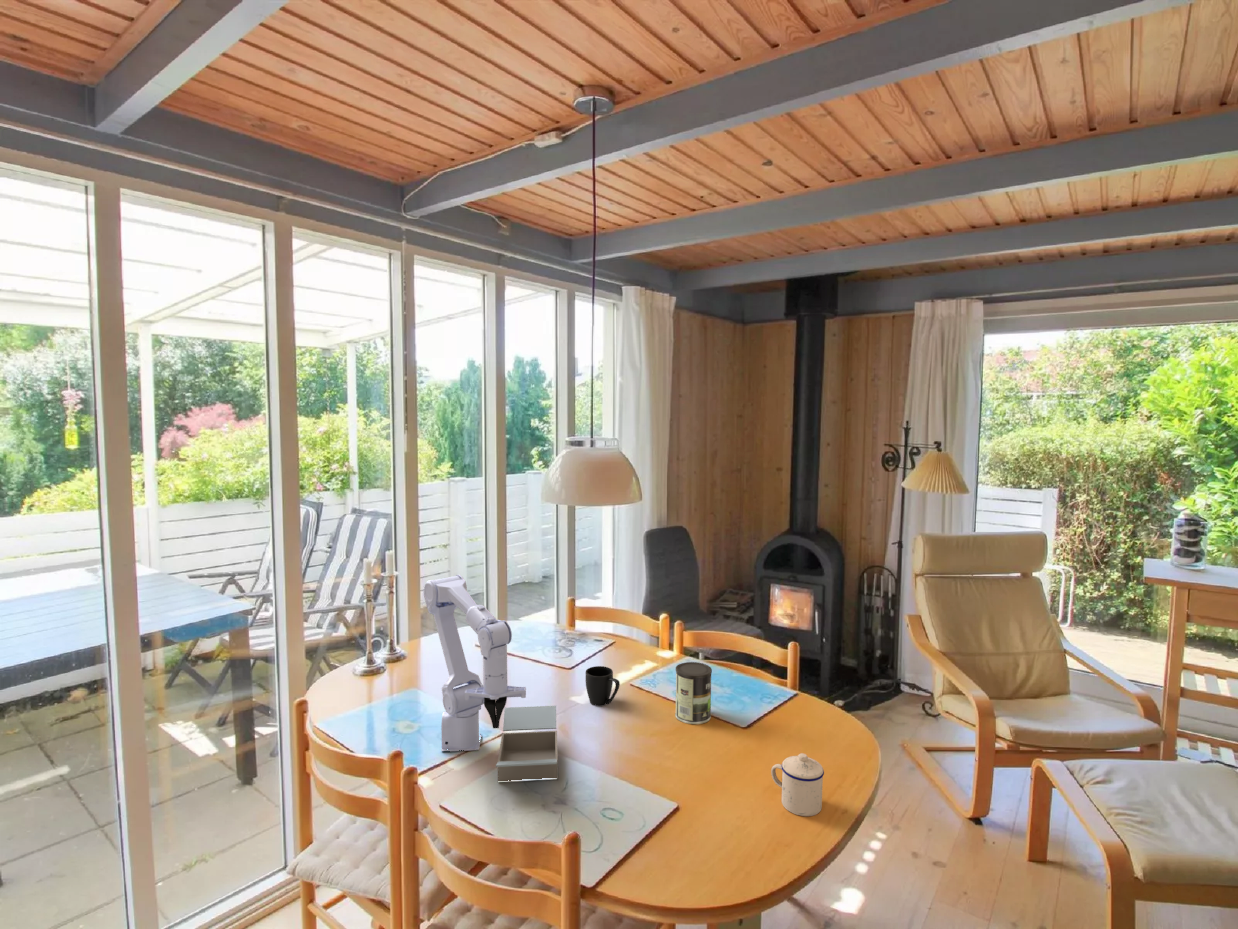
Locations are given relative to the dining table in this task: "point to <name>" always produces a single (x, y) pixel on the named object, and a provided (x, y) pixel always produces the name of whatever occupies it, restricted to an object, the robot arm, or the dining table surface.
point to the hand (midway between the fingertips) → (496, 726)
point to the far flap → (529, 718)
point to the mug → (600, 685)
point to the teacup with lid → (800, 784)
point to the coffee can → (693, 692)
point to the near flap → (526, 762)
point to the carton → (528, 755)
